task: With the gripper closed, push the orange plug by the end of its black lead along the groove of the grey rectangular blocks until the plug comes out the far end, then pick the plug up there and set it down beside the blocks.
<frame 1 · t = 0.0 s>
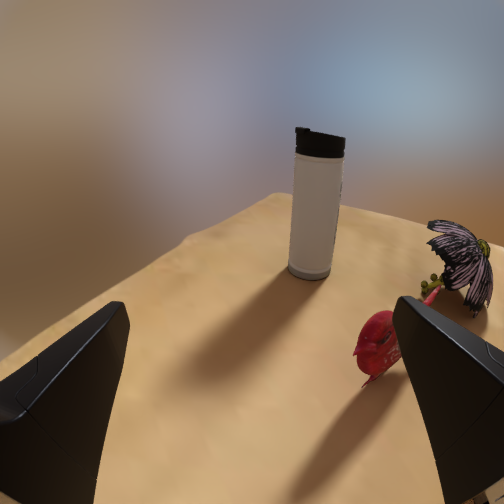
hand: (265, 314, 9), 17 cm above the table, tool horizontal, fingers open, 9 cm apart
travel mug: (308, 270, 43), on the table
decorative flower: (448, 299, 36), on the table
decorative bird figurine: (387, 365, 27), on the table
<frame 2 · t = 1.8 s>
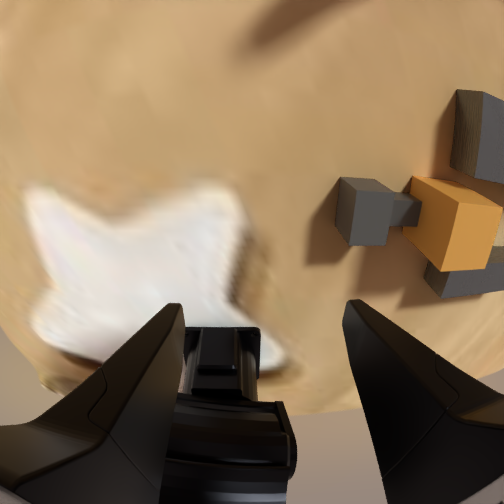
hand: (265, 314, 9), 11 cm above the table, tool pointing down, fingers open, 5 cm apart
plug: (430, 206, 19), on the table
grey rectangular blocks: (485, 212, 20), on the table
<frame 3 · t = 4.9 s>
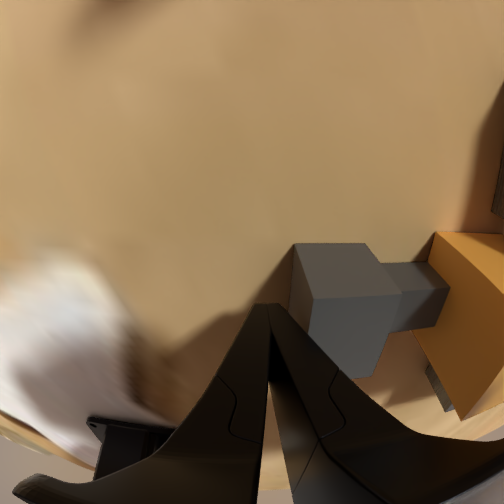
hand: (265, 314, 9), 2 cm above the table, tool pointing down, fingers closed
plug: (458, 278, 11), on the table, touching gripper
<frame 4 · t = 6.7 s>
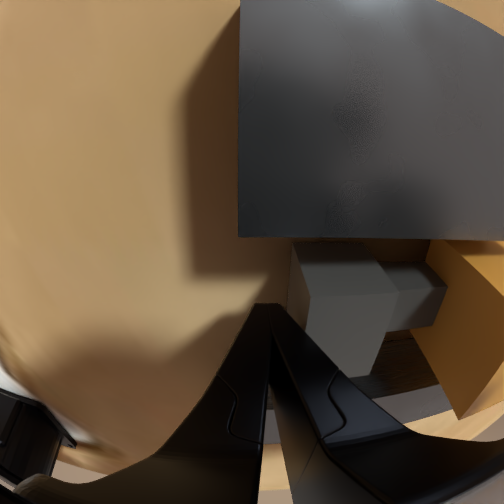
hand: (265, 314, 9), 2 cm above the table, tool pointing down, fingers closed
plug: (456, 278, 11), on the table, touching gripper
grey rectangular blocks: (383, 283, 11), on the table
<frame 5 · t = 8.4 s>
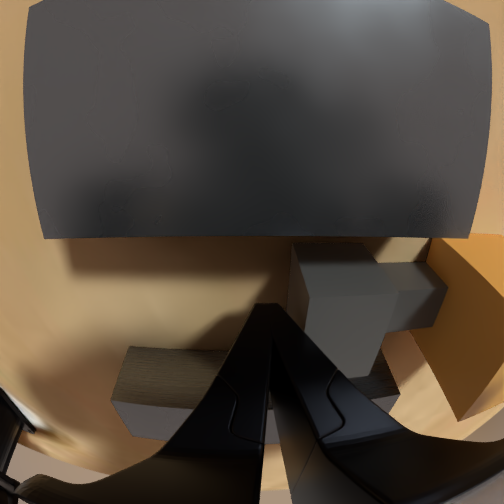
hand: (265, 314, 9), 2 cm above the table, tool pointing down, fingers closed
plug: (457, 279, 11), on the table, touching gripper
grey rectangular blocks: (257, 285, 11), on the table
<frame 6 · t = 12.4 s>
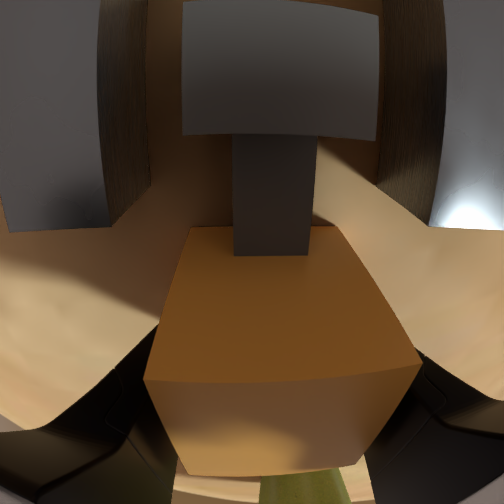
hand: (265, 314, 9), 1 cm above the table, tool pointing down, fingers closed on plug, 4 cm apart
plug: (263, 288, 10), on the table, touching gripper
plant pot: (298, 470, 19), on the table
when the fingers open (2 cm above the table, at t = 16.7 s): plug drops 1 cm, on the table.
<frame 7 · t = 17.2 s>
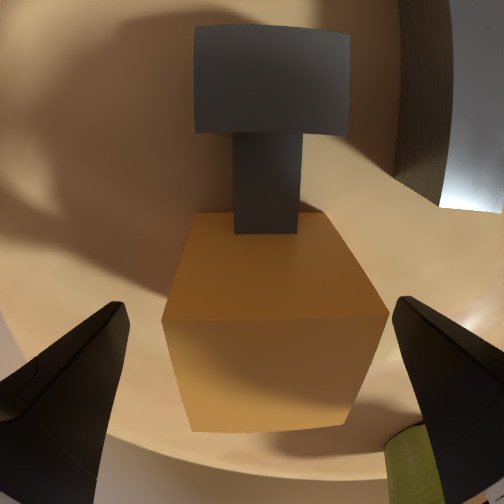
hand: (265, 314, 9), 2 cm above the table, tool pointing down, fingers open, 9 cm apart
plug: (260, 267, 11), on the table
plant pot: (412, 433, 21), on the table
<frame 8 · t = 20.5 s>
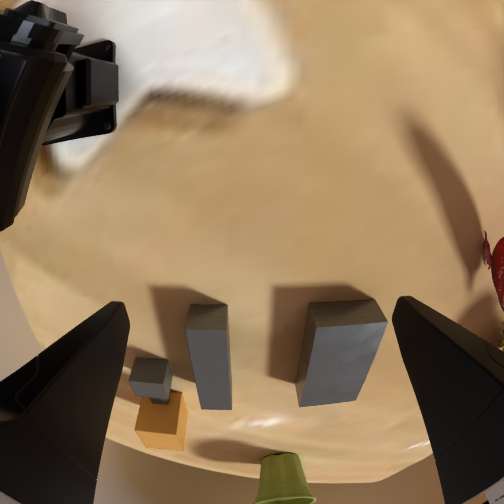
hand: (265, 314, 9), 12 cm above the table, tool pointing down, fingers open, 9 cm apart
plug: (166, 401, 30), on the table
plant pot: (279, 458, 40), on the table
decorative bird figurine: (485, 264, 24), on the table
grey rectangular blocks: (266, 351, 27), on the table
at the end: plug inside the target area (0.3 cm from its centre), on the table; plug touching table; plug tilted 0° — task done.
